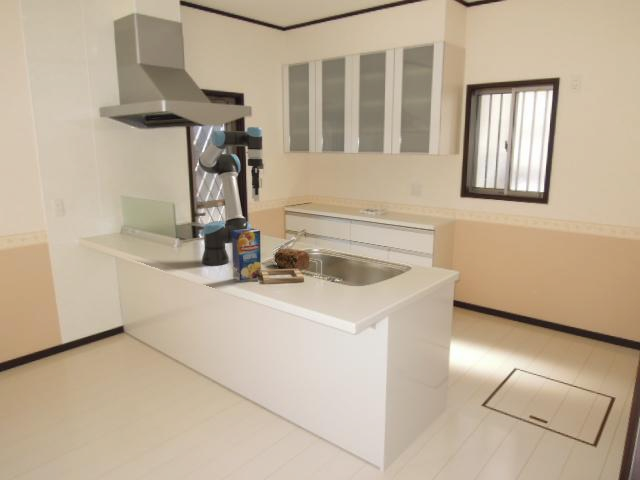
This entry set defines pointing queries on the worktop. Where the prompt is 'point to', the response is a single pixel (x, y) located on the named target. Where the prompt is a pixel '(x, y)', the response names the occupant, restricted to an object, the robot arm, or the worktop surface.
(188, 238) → the worktop surface
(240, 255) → the juice carton
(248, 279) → the plate
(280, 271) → the board
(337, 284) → the worktop surface
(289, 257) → the bread
